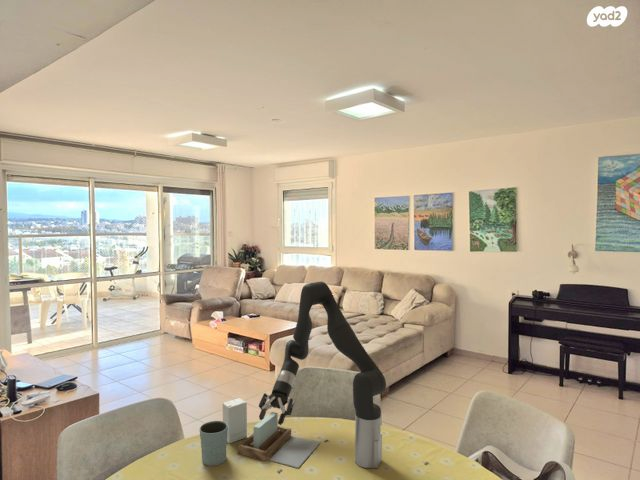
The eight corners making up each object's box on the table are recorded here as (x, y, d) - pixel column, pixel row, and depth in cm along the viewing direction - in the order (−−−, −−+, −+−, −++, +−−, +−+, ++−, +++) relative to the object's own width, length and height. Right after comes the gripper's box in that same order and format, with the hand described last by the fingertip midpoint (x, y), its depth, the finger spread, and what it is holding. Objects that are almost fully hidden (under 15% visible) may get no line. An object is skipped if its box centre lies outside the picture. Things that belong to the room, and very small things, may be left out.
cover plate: (277, 437, 167) (277, 412, 167) (259, 454, 155) (259, 427, 154) (272, 436, 168) (272, 411, 168) (253, 452, 156) (253, 426, 155)
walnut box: (291, 436, 168) (291, 428, 168) (265, 460, 150) (265, 452, 150) (265, 430, 173) (265, 423, 173) (238, 453, 155) (238, 445, 155)
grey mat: (319, 443, 163) (319, 442, 163) (298, 468, 145) (298, 467, 145) (292, 437, 167) (292, 436, 167) (268, 460, 150) (268, 459, 150)
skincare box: (240, 432, 171) (240, 396, 171) (247, 437, 166) (247, 401, 166) (221, 438, 166) (222, 401, 166) (228, 444, 161) (228, 406, 161)
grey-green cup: (220, 468, 145) (220, 434, 144) (193, 465, 147) (194, 431, 147) (232, 453, 155) (232, 421, 154) (207, 450, 157) (207, 419, 156)
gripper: (266, 377, 175) (251, 414, 165) (296, 382, 169) (282, 421, 159) (272, 385, 180) (258, 422, 170) (301, 390, 174) (288, 429, 164)
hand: (270, 422), depth 164 cm, fingers open, 8 cm apart
